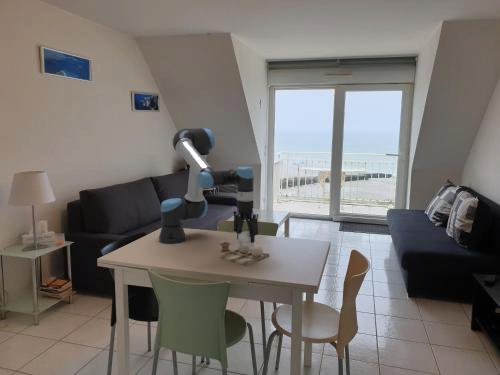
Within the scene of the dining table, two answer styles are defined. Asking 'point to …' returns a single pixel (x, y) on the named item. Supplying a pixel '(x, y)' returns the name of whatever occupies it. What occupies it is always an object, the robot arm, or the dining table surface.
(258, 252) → the cream white ball
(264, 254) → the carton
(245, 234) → the white ball
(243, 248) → the pale beige ball
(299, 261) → the dining table surface
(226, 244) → the stand
